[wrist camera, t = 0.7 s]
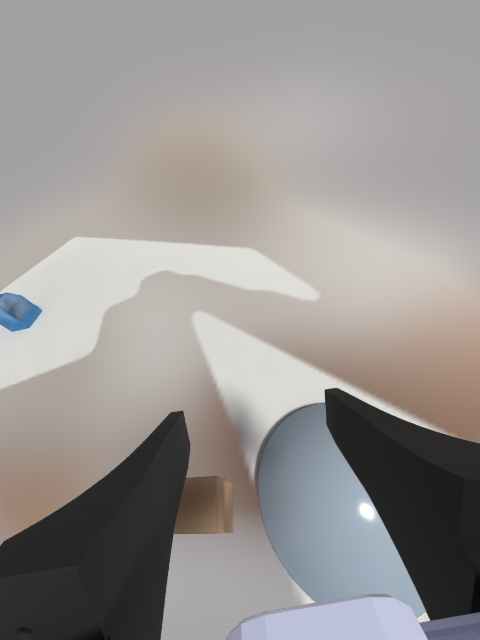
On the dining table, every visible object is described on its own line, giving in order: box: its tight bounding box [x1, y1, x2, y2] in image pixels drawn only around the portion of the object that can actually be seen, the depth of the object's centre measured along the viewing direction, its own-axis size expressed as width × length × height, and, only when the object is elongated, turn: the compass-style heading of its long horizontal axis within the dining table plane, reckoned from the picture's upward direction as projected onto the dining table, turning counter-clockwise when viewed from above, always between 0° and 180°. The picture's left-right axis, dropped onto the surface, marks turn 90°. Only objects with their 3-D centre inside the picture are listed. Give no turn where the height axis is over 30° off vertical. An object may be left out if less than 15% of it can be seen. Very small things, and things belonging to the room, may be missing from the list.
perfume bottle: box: [0, 293, 42, 332], centre depth 61 cm, size 6×6×12 cm
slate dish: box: [258, 403, 426, 618], centre depth 22 cm, size 16×16×1 cm
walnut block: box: [174, 476, 233, 534], centre depth 23 cm, size 4×4×5 cm
